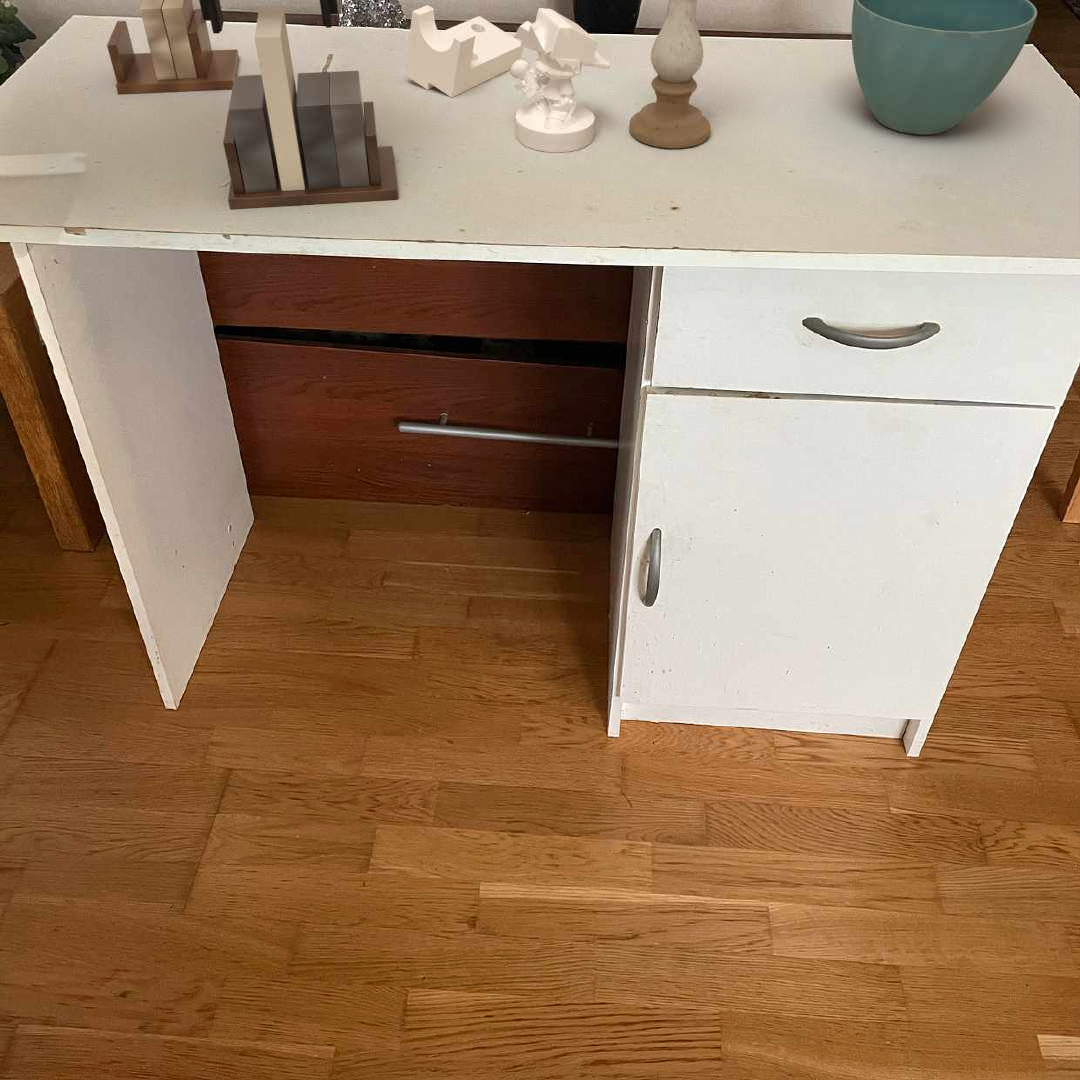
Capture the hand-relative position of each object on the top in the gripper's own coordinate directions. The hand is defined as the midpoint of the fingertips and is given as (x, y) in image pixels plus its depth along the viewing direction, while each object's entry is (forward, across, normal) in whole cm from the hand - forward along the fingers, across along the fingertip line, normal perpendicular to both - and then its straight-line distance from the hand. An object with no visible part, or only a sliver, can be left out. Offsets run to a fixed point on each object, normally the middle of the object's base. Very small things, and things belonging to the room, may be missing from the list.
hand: (273, 25), depth 91 cm
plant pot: (+16, +67, +7) cm, 70 cm away
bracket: (+15, +19, +26) cm, 36 cm away
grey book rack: (+15, +1, 0) cm, 15 cm away
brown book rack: (+15, -15, +30) cm, 36 cm away
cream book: (+14, 0, 0) cm, 14 cm away
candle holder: (+15, +39, +7) cm, 43 cm away
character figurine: (+15, +27, +8) cm, 32 cm away
